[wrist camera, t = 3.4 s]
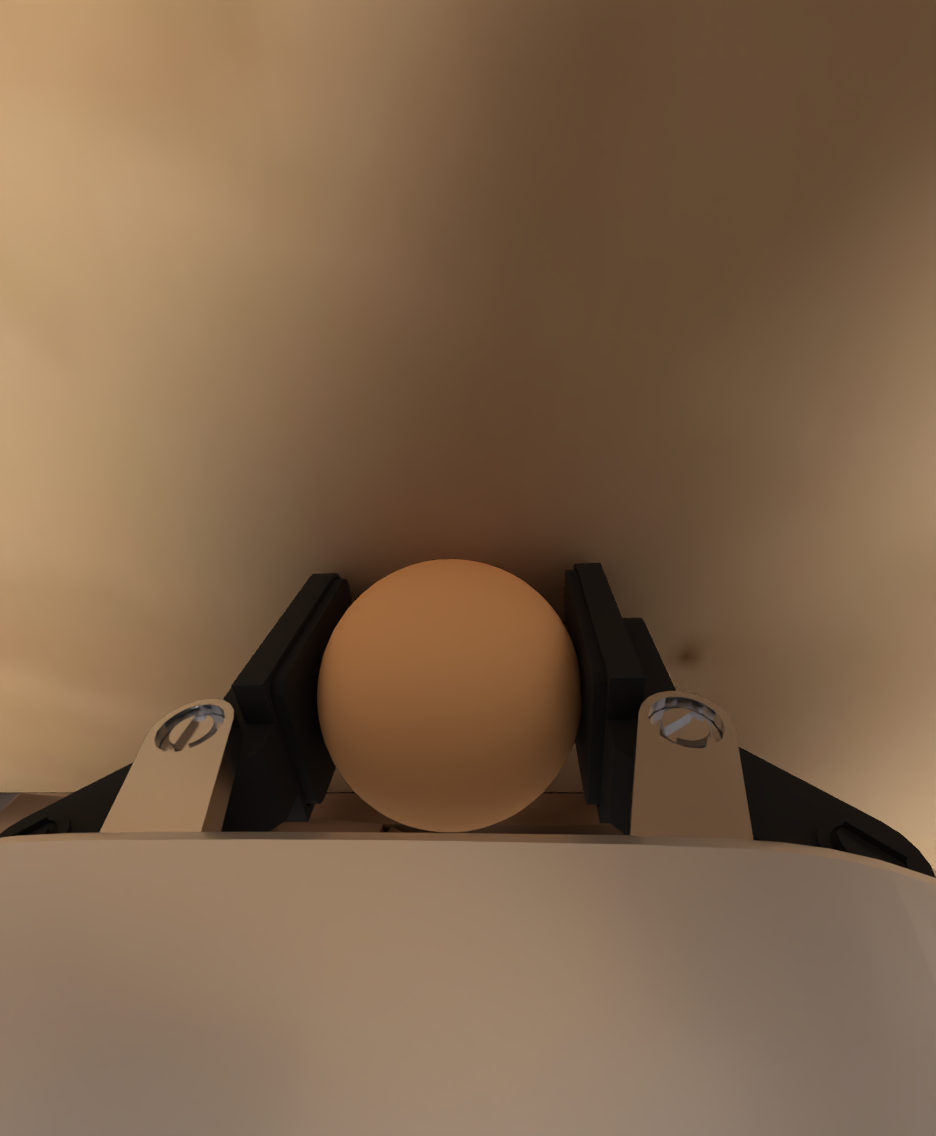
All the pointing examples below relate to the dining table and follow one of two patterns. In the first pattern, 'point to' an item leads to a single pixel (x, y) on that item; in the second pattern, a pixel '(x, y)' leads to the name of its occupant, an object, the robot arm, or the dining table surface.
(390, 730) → the ball
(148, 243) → the dining table surface
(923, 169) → the dining table surface
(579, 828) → the ramp
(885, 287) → the dining table surface
